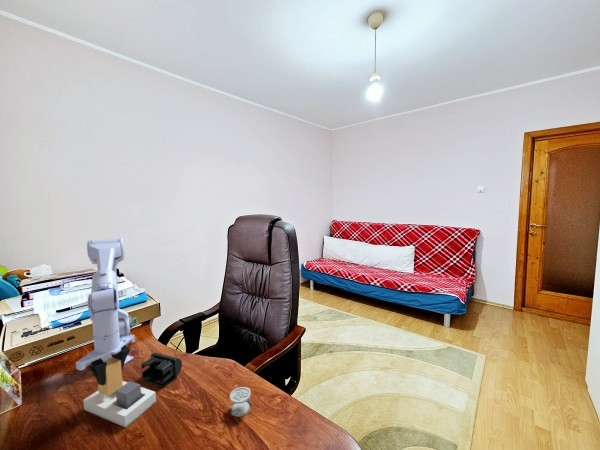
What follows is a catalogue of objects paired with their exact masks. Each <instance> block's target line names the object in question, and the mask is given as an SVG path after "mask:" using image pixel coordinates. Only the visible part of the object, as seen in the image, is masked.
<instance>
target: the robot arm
mask: <svg viewBox="0 0 600 450" xmlns="http://www.w3.org/2000/svg"><path fill="white" fill-rule="evenodd" d="M86 249H87V250H86V251H87V252H86V253H87V257H88V259H89V260H90V262H91V264H92V265H96V266H97V267H96V268H97V271H95V272H94V274H93V275H92V279H91V292H90V293H89V294H88V296H87V308H88V312H89V316H90V321H91V322H92V323H91V324H92V334H93V347H94V349H93V350H92V351H90V352H89V353H87V354H86V355H85V356H84V357H82V358H80V359H78V360H77V361H75V369H76V370H78V371H81V372H82V371H84V370H85V369H86V368H88V370H90V371H91V373H92V374H93V376H94V377H95V380H96V381H97V385H98V384H99V385H102V386H103V385H105V384H106V375H105V372H106V365H107V363H106V362H103V361H105V360H107V359H109V358H110V357H112V358H116V359H119V360H121V370H122V372H124V371H123V369H124V365H125V364H126V363H128V362H131V361H132V360H134V358H135V357H134V356H131V355H129V353H130V352H131V348H130V347H129V346H128V345H129V344H133V343H135V342H136V337H135V334H131V329H130V325H129V317H128V315H129V313H128V311H125V310H124V309H121V308H120V297H119V296H120V295H119V290H118V277H117V276H118V274H117V267H118V264H119V263H121V262H123V261H124V258H125V243H124V238H122V237H115V238H102V239H89V240H88V241H87V243H86ZM118 318H120V319H118ZM129 333H130V335H128V334H129ZM126 335H128V336H126Z"/></svg>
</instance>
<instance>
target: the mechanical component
mask: <svg viewBox="0 0 600 450" xmlns="http://www.w3.org/2000/svg"><path fill="white" fill-rule="evenodd" d="M128 317H129V325H130V330H132V329H133V328H135V327H136V326H137V325H139V318H138V317H132V316H131V315H129V314H128ZM118 319H120V318H118ZM128 335H131V332H130V333H129V334H128ZM128 335H126V336H128Z"/></svg>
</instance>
